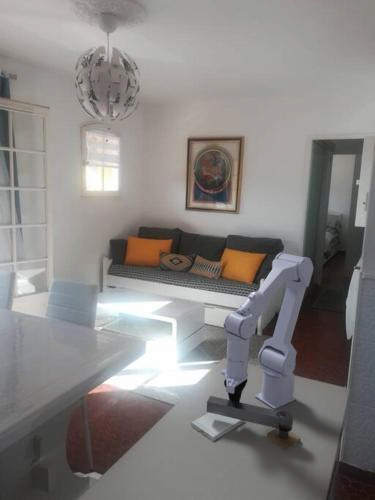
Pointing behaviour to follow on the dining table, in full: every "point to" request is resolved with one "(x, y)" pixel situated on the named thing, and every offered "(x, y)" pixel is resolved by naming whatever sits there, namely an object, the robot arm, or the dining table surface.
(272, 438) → the post mount
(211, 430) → the hard drive
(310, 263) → the robot arm
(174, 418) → the dining table surface
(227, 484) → the dining table surface
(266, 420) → the swing bar
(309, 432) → the dining table surface
